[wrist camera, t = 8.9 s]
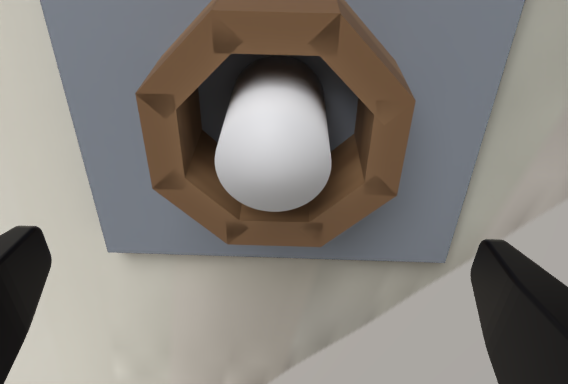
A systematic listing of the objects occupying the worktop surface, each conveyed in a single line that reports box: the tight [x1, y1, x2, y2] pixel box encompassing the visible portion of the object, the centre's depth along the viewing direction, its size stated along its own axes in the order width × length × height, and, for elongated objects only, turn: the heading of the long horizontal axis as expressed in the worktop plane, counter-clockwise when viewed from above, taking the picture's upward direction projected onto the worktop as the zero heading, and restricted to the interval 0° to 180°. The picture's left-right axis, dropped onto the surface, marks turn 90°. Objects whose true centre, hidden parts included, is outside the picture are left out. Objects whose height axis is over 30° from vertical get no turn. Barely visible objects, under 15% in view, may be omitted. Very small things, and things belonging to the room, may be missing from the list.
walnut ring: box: [135, 0, 416, 247], centre depth 14 cm, size 7×7×3 cm
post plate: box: [40, 0, 525, 263], centre depth 14 cm, size 14×14×5 cm
